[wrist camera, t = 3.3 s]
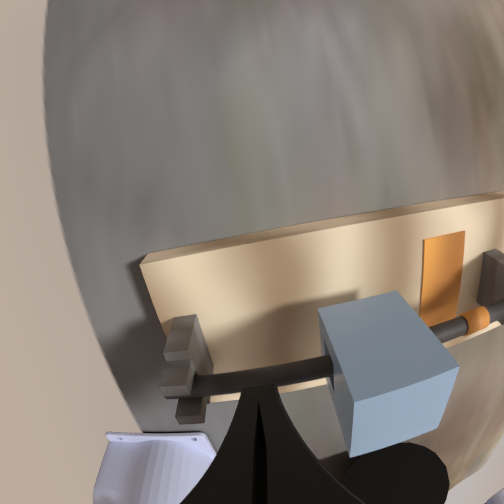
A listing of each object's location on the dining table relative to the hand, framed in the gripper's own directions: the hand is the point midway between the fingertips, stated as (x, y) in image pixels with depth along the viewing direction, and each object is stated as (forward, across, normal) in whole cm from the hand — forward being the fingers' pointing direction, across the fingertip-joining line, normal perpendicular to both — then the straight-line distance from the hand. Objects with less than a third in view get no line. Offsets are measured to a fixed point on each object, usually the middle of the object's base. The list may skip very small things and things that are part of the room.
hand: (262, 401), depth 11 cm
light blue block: (+3, -5, 0) cm, 6 cm away
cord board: (+6, -7, 0) cm, 9 cm away
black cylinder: (+7, -9, +34) cm, 36 cm away
